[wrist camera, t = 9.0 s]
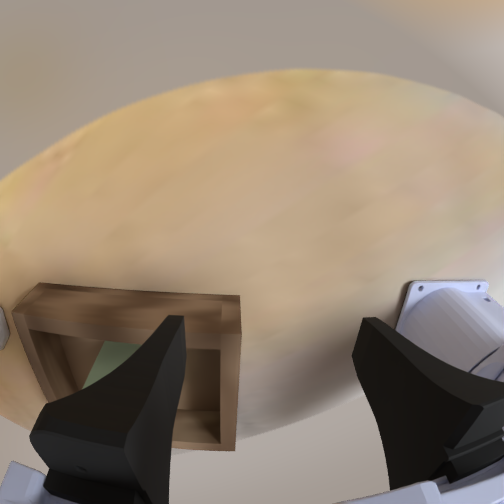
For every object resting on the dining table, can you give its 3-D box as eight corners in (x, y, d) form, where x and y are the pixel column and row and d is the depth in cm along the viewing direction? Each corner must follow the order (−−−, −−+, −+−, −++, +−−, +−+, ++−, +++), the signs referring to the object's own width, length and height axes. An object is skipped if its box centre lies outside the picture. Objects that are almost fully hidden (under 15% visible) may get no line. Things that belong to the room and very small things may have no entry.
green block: (160, 344, 23) (145, 403, 17) (166, 385, 24) (155, 441, 19) (106, 338, 22) (80, 392, 17) (116, 379, 24) (97, 432, 18)
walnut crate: (239, 295, 22) (241, 334, 18) (233, 412, 27) (234, 451, 23) (39, 282, 21) (11, 312, 17) (76, 395, 26) (62, 428, 22)
